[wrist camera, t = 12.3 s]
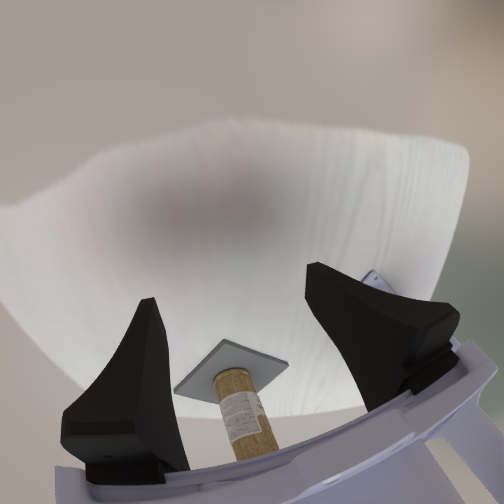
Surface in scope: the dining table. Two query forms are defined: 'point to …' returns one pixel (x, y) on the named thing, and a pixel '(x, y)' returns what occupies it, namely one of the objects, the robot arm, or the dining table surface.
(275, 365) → the coaster
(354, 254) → the dining table surface
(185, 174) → the dining table surface
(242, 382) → the sprinkles bottle
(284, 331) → the dining table surface
